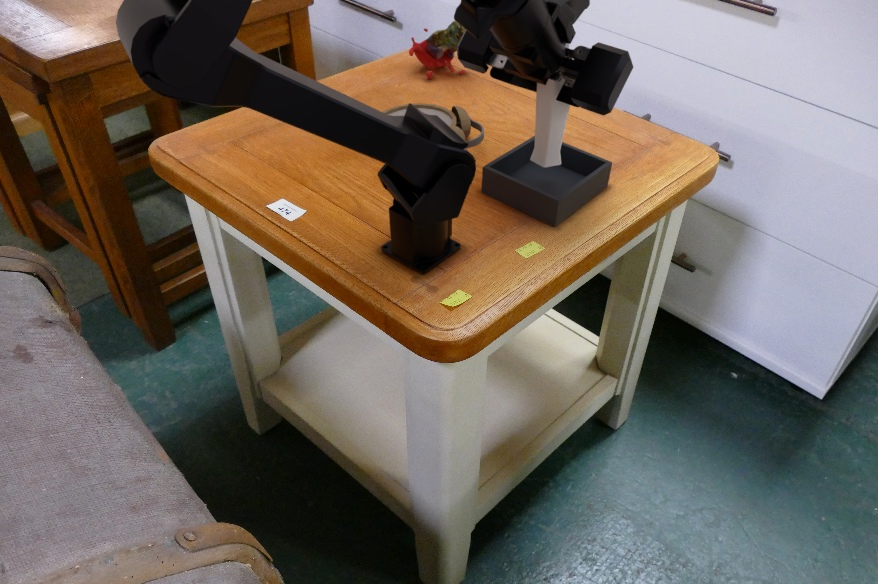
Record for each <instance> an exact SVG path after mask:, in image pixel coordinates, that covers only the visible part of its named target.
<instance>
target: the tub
mask: <svg viewBox="0 0 878 584" xmlns="http://www.w3.org/2000/svg"><path fill="white" fill-rule="evenodd" d="M534 147H535V135H533V136H532V137H530V138H528V139H526V140H524V141H523V142H521V143H520V144H518V145H516V146H514V147H513V148H511V149H509V150H508V151H506V152H505V153H503V154H501V155H500V156H498V157H497V158H495V159H493V160H491V161H490V162H488V163H486V164H484V165H483V166H482V168H481V169H482V171H481V172H482V173H481V193H482V194H483V195H486V196H488V197H490V198H492V199H494V200H497V201H499V202H501V203H503V204H505V205H506V206H507V205H508V206H509V207H511V208H513V209H516V210H518V211H520V212H522V213H524V214H526V215H529V216H530V217H533V218H534V219H537V220H539V221H541V222H543V223H546V224H547V225H550V226H551V227H553V228H556V227H558V226H559V225H560V224H561V223H563V222H564V221H565V220H567V219H568V218H570V216H572V215H573V214H574V213H576V212H577V211H579V209H581V208H582V207H584V206H585V205H587V203H589V202H590V201H592V200H593V199H594V198H595V197H597V196H598V195H599V194H600V193H602V192H603V191H605V190H606V189H607V188H608V187H609V182H610V176H611V171H612V166H613V162H612V161H610V160H607V159H605V158H603V157H600V156H598V155H596V154H593V153H591V152H588V151H585V150H583V149H581V148H578V147H575V146H573V145H571V144H568V143H566V142H563V141H562V145H561V150H560V155H561V165H556V166H551V167H542V166H540V165H538V164H536V163H535V162H533V161H531V160H530V158H531V155H532V153H533V150H534Z"/></svg>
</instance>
